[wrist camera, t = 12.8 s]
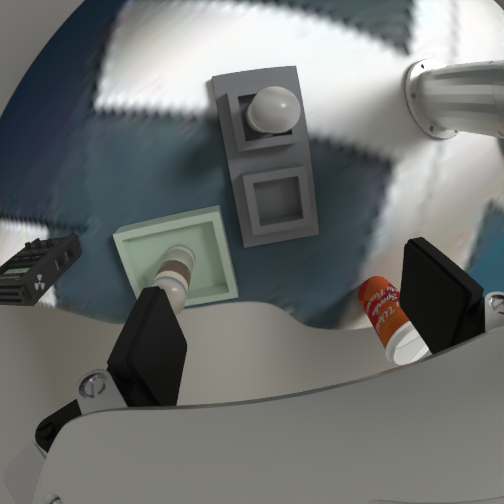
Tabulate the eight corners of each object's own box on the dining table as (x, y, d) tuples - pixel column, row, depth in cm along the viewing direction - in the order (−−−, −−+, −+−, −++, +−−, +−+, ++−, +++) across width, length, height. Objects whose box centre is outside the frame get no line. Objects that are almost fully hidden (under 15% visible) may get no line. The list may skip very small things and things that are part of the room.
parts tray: (219, 204, 35) (219, 211, 32) (237, 285, 40) (238, 297, 37) (120, 226, 35) (112, 234, 32) (147, 300, 40) (142, 312, 37)
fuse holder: (294, 67, 28) (300, 61, 25) (316, 231, 37) (324, 241, 34) (212, 78, 28) (210, 72, 25) (244, 244, 38) (245, 256, 34)
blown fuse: (191, 241, 36) (178, 279, 27) (198, 269, 38) (189, 313, 29) (161, 247, 36) (141, 286, 27) (170, 274, 38) (154, 317, 29)
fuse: (277, 97, 29) (296, 84, 20) (282, 130, 31) (303, 129, 22) (242, 102, 29) (247, 89, 20) (248, 135, 31) (255, 136, 22)
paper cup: (380, 260, 40) (430, 312, 27) (399, 289, 43) (443, 340, 30) (343, 293, 42) (379, 354, 29) (364, 318, 45) (399, 375, 32)
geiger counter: (80, 226, 34) (20, 275, 21) (87, 254, 36) (35, 313, 23) (31, 233, 34) (-27, 278, 20) (39, 259, 36) (-13, 309, 22)
